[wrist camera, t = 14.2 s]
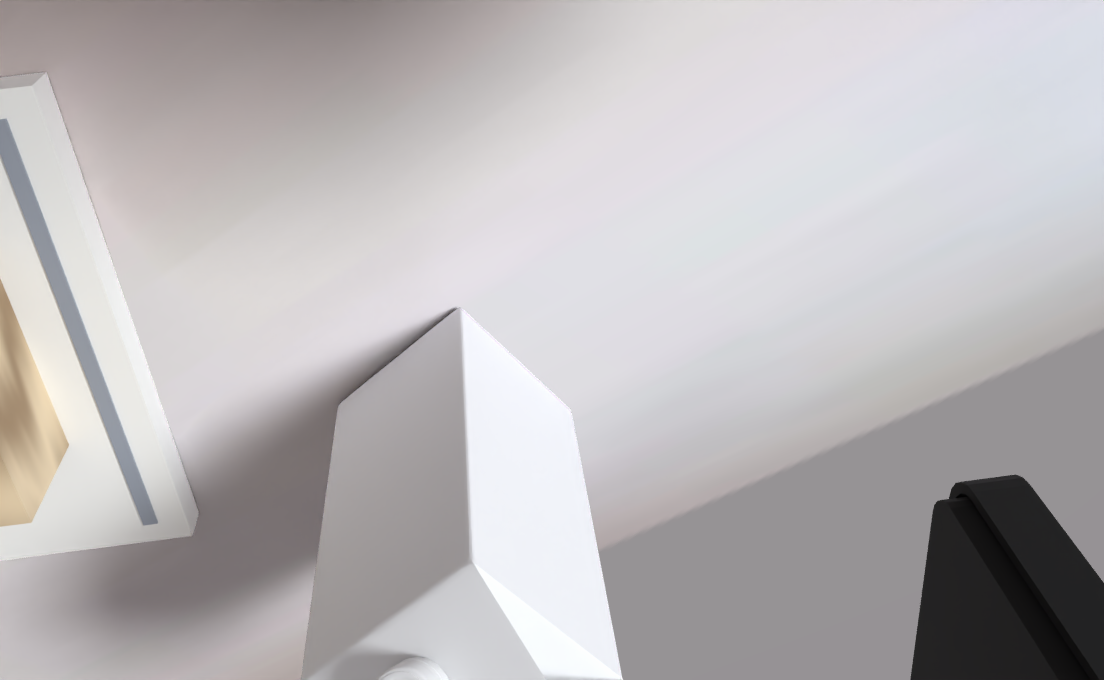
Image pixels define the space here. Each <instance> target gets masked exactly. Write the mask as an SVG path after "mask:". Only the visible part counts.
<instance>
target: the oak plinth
mask: <svg viewBox="0 0 1104 680" xmlns="http://www.w3.org/2000/svg"><path fill="white" fill-rule="evenodd" d="M68 447H69V443H68V441H67V439H66V436H65V434H64V431H63V429H62V427H61V424H60V422H59V419H58V417H57V414H56V412H55V410H54V407H53V405H52V402H51V400H50V397H49V395H48V393H47V390H46V388H45V385H44V383H43V381H42V378H41V376H40V373H39V371H38V368H37V366H36V364H35V361H34V359H33V356H32V354H31V351H30V349H29V347H28V344H27V342H26V339H25V337H24V335H23V332H22V330H21V327H20V325H19V322H18V320H17V318H16V315H15V313H14V310H13V308H12V305H11V303H10V301H9V298H8V296H7V293H6V291H5V288H4V286H3V284H2V281H1V279H0V527H2V526H10V525H18V524H26V523H32V521H33V519H34V516H35V514H36V512H37V510H38V508H39V506H40V504H41V502H42V500H43V498H44V496H45V494H46V492H47V490H48V488H49V486H50V484H51V482H52V480H53V477H54V475H55V473H56V471H57V469H58V467H59V465H60V463H61V461H62V459H63V457H64V455H65V453H66V451H67V449H68Z"/></svg>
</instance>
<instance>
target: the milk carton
mask: <svg viewBox="0 0 1104 680" xmlns="http://www.w3.org/2000/svg"><path fill="white" fill-rule="evenodd" d="M301 680H623V679H622V675H621V669H620V664H619V659H618V654H617V648H616V643H615V638H614V633H613V628H612V622H611V618H610V612H609V606H608V602H607V596H606V590H605V585H604V580H603V575H602V569H601V564H600V559H599V554H598V548H597V543H596V538H595V532H594V527H593V522H592V517H591V511H590V506H589V501H588V496H587V490H586V485H585V480H584V475H583V469H582V464H581V459H580V453H579V448H578V443H577V438H576V432H575V427H574V422H573V417H572V412H571V410H570V408H569V407H568V406H567V405H565V404H564V403H563V402H562V401H561V400H560V399H559V398H558V397H557V396H556V395H555V394H554V393H553V392H552V391H550V390H549V389H548V388H547V387H546V386H545V385H544V384H543V383H542V382H541V381H540V380H539V379H538V378H537V377H535V376H534V375H533V374H532V373H531V372H530V371H529V370H528V369H527V368H526V367H525V366H524V365H523V364H522V363H520V362H519V361H518V360H517V359H516V358H515V357H514V356H513V355H512V354H511V353H510V352H509V351H508V350H506V349H505V348H504V347H503V346H502V345H501V344H500V343H499V342H498V341H497V340H496V339H495V338H494V337H493V336H491V335H490V334H489V333H488V332H487V331H486V330H485V329H484V328H483V327H482V326H481V325H480V324H479V323H478V322H476V321H475V320H474V319H473V318H472V317H471V316H470V315H469V314H468V313H467V312H466V311H465V310H464V309H462V308H458V309H456V310H455V311H453V312H452V313H451V314H450V315H448V316H447V317H446V318H445V319H443V320H442V321H441V322H440V323H438V324H437V325H436V326H435V327H433V328H432V329H431V330H430V331H428V332H427V333H426V334H425V335H423V336H422V337H421V338H420V339H419V340H417V341H416V342H415V343H414V344H412V345H411V346H410V347H409V348H407V349H406V350H405V351H404V352H402V353H401V354H400V355H399V356H398V357H396V358H395V359H394V360H393V361H391V362H390V363H389V364H388V365H386V366H385V367H384V368H383V369H381V370H380V371H379V372H378V373H377V374H375V375H374V376H373V377H372V378H370V379H369V380H368V381H367V382H365V383H364V384H363V385H362V386H360V387H359V388H358V389H357V390H356V391H354V392H353V393H352V394H351V395H349V396H348V397H347V398H346V399H345V400H343V401H342V402H341V403H340V404H339V406H338V410H337V417H336V424H335V432H334V439H333V446H332V454H331V461H330V468H329V476H328V483H327V490H326V498H325V505H324V512H323V519H322V527H321V534H320V541H319V549H318V556H317V563H316V571H315V578H314V585H313V593H312V600H311V607H310V614H309V622H308V629H307V636H306V644H305V651H304V659H303V667H302V675H301Z"/></svg>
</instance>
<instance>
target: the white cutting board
mask: <svg viewBox="0 0 1104 680" xmlns="http://www.w3.org/2000/svg"><path fill="white" fill-rule="evenodd" d="M0 279H1V281H2V284H3V286H4V288H5V291H6V293H7V296H8V298H9V301H10V303H11V305H12V308H13V310H14V313H15V315H16V318H17V320H18V322H19V325H20V327H21V330H22V332H23V335H24V337H25V339H26V342H27V344H28V347H29V349H30V351H31V354H32V356H33V359H34V361H35V364H36V366H37V368H38V371H39V373H40V376H41V378H42V381H43V383H44V385H45V388H46V390H47V393H48V395H49V397H50V400H51V402H52V405H53V407H54V410H55V412H56V414H57V417H58V419H59V422H60V424H61V427H62V429H63V431H64V434H65V436H66V439H67V441H68V443H69V447H68V449H67V451H66V453H65V455H64V457H63V459H62V461H61V463H60V465H59V467H58V469H57V471H56V473H55V475H54V477H53V480H52V482H51V484H50V486H49V488H48V490H47V492H46V494H45V496H44V498H43V500H42V502H41V504H40V506H39V508H38V510H37V512H36V514H35V516H34V519H33V521H32V523H26V524H18V525H10V526H2V527H0V561H4V560H12V559H20V558H27V557H35V556H43V555H50V554H58V553H66V552H73V551H81V550H89V549H97V548H104V547H112V546H120V545H127V544H135V543H143V542H150V541H158V540H166V539H174V538H181V537H189V536H193V533H194V529H195V526H196V523H197V519H198V516H199V511H198V508H197V505H196V503H195V500H194V497H193V494H192V491H191V488H190V485H189V482H188V479H187V477H186V474H185V471H184V468H183V465H182V462H181V459H180V456H179V453H178V451H177V448H176V445H175V442H174V439H173V436H172V433H171V430H170V427H169V425H168V422H167V419H166V416H165V413H164V410H163V407H162V404H161V401H160V399H159V396H158V393H157V390H156V387H155V384H154V381H153V378H152V375H151V373H150V370H149V367H148V364H147V361H146V358H145V355H144V352H143V349H142V347H141V344H140V341H139V338H138V335H137V332H136V329H135V326H134V323H133V321H132V318H131V315H130V312H129V309H128V306H127V303H126V300H125V298H124V295H123V292H122V289H121V286H120V283H119V280H118V277H117V274H116V272H115V269H114V266H113V263H112V260H111V257H110V254H109V251H108V248H107V246H106V243H105V240H104V237H103V234H102V231H101V228H100V225H99V222H98V220H97V217H96V214H95V211H94V208H93V205H92V202H91V199H90V196H89V194H88V191H87V188H86V185H85V182H84V179H83V176H82V173H81V170H80V168H79V165H78V162H77V159H76V156H75V153H74V150H73V147H72V144H71V142H70V139H69V136H68V133H67V130H66V127H65V124H64V121H63V118H62V116H61V113H60V110H59V107H58V104H57V101H56V98H55V95H54V92H53V90H52V87H51V84H50V81H49V78H48V75H47V72H41V73H32V74H24V75H15V76H6V77H0Z"/></svg>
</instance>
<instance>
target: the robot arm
mask: <svg viewBox="0 0 1104 680" xmlns="http://www.w3.org/2000/svg"><path fill="white" fill-rule="evenodd" d="M911 680H1104V583H1103V581H1102V580H1101V579H1100V577H1099V576H1098V575H1097V573H1096V572H1095V571H1094V569H1093V568H1092V567H1091V565H1090V564H1089V563H1088V561H1087V560H1086V559H1085V557H1084V556H1083V555H1082V553H1081V552H1080V551H1079V549H1078V548H1077V547H1076V545H1075V544H1074V543H1073V541H1072V540H1071V539H1070V537H1069V536H1068V535H1067V533H1066V532H1065V531H1064V530H1063V528H1062V527H1061V526H1060V524H1059V523H1058V522H1057V520H1056V519H1055V517H1054V516H1053V515H1052V513H1051V512H1050V511H1049V510H1048V508H1047V507H1046V505H1045V504H1044V503H1043V502H1042V500H1041V499H1040V497H1039V496H1038V495H1037V494H1036V492H1035V491H1034V490H1033V488H1032V487H1031V486H1030V484H1028V482H1027V481H1025V479H1024V478H1022V477H1020V476H1018V475H1010V476H1002V477H995V478H988V479H979V480H972V481H964V482H959V483H955V485H954V486H953V488H952V489H951V493H950V497H949V499H947V500H940V501H937V502H936V504H935V505H934V509H933V515H932V523H931V531H930V538H929V545H928V552H927V560H926V567H925V575H924V582H923V590H922V598H921V605H920V613H919V620H918V627H917V635H916V642H915V650H914V657H913V665H912V672H911Z"/></svg>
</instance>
